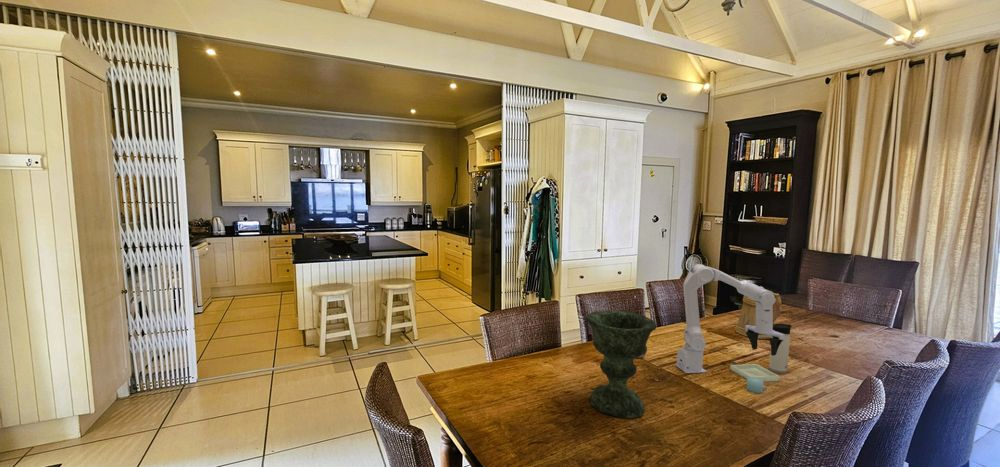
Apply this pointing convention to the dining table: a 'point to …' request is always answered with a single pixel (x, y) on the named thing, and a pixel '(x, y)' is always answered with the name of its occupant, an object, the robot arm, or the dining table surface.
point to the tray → (754, 372)
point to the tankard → (750, 315)
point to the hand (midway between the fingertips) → (764, 351)
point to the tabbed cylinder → (755, 385)
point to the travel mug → (781, 350)
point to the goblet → (619, 359)
